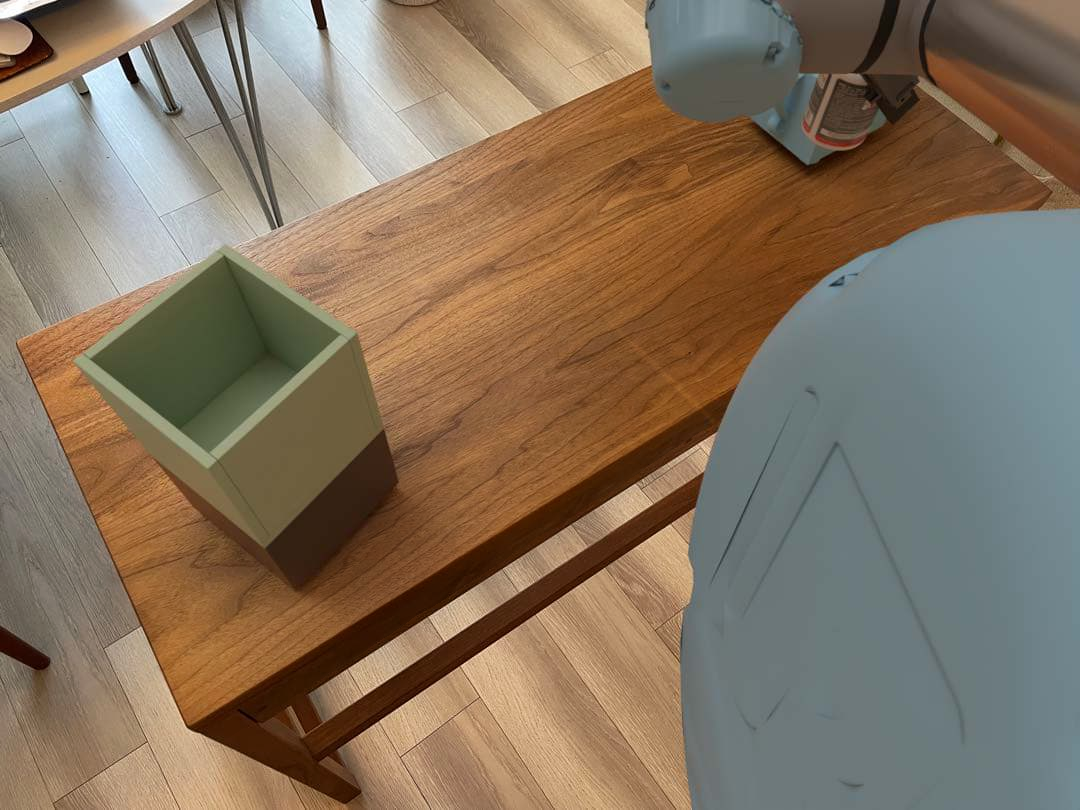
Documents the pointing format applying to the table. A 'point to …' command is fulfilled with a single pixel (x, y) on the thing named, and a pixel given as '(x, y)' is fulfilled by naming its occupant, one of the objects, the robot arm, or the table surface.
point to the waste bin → (251, 410)
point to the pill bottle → (838, 112)
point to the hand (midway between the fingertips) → (878, 87)
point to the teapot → (799, 121)
